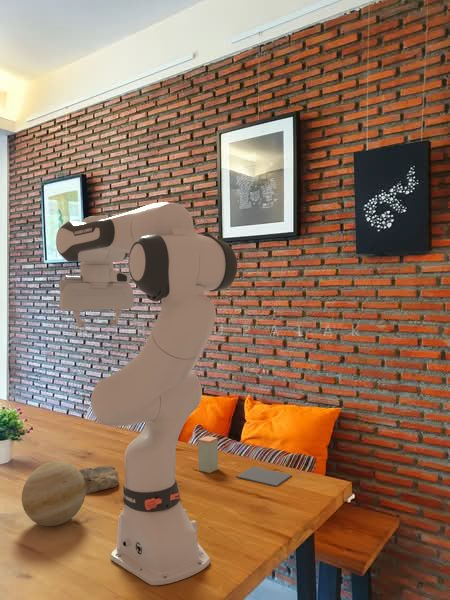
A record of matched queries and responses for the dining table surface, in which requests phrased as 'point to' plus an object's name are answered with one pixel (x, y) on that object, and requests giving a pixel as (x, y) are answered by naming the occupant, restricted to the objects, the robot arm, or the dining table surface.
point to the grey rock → (99, 478)
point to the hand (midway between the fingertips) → (97, 326)
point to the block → (208, 454)
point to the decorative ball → (53, 493)
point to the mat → (264, 476)
